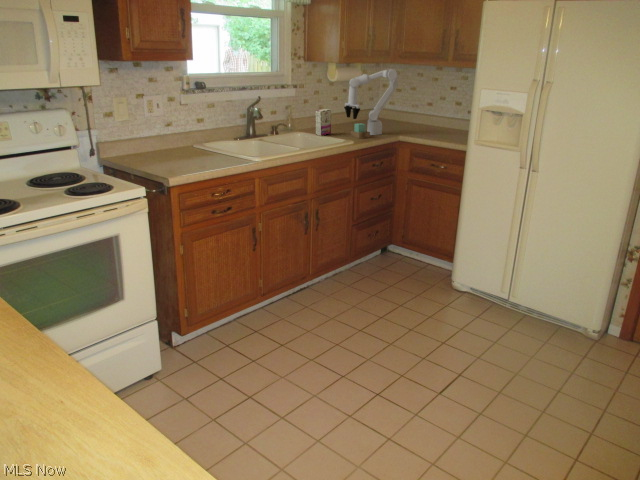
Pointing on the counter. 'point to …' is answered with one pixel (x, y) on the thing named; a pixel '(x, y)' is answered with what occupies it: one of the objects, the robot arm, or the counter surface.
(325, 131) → the candy bar box
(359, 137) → the walnut block
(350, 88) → the robot arm
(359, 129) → the teal cube
